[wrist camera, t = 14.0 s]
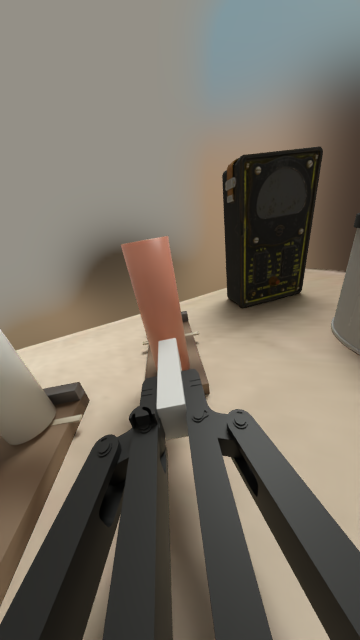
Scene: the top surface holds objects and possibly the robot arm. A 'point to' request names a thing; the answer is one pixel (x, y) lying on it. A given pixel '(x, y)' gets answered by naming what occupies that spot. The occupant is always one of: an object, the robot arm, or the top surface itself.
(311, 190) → the voltmeter
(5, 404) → the grey plug
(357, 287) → the container
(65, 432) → the brown wooden board
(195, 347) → the brown base
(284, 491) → the robot arm
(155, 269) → the terracotta plug
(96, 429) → the top surface
